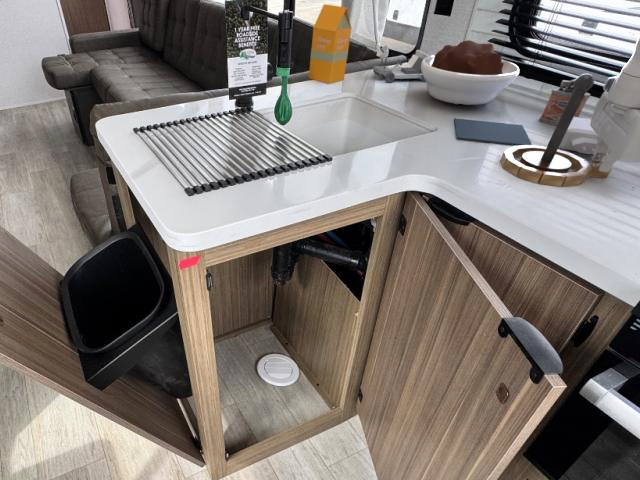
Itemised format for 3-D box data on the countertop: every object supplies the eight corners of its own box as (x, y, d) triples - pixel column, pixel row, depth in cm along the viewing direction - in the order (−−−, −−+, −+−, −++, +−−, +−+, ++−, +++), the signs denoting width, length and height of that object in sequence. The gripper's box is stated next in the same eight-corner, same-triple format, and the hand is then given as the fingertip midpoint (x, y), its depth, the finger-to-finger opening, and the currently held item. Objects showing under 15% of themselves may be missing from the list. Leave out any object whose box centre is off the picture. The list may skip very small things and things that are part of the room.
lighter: (538, 121, 112) (556, 79, 105) (539, 118, 114) (558, 76, 107) (574, 128, 108) (595, 84, 101) (575, 124, 110) (596, 81, 104)
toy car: (383, 48, 132) (370, 40, 140) (376, 83, 138) (364, 73, 147) (439, 47, 133) (423, 39, 142) (430, 81, 140) (415, 72, 148)
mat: (521, 126, 109) (522, 124, 108) (531, 147, 99) (532, 145, 98) (453, 120, 112) (454, 118, 112) (456, 139, 102) (457, 137, 102)
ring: (594, 161, 93) (599, 152, 92) (617, 193, 82) (623, 183, 80) (496, 150, 97) (500, 141, 96) (506, 179, 86) (510, 170, 85)
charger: (558, 158, 94) (554, 135, 104) (608, 166, 91) (599, 142, 101) (569, 136, 91) (563, 115, 101) (622, 144, 88) (610, 121, 98)
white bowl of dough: (456, 84, 137) (473, 29, 127) (526, 107, 120) (551, 45, 110) (394, 94, 129) (407, 36, 119) (459, 120, 112) (481, 54, 102)
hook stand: (561, 163, 92) (608, 70, 80) (571, 181, 86) (625, 82, 74) (515, 157, 94) (554, 66, 82) (521, 175, 88) (565, 78, 76)
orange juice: (323, 74, 146) (331, 3, 133) (344, 79, 141) (355, 6, 128) (308, 78, 142) (315, 5, 129) (329, 84, 137) (338, 8, 124)
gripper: (687, 112, 69) (635, 191, 78) (641, 79, 84) (602, 149, 93) (642, 108, 71) (596, 186, 80) (604, 76, 85) (569, 145, 94)
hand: (599, 166), depth 86 cm, fingers open, 3 cm apart
